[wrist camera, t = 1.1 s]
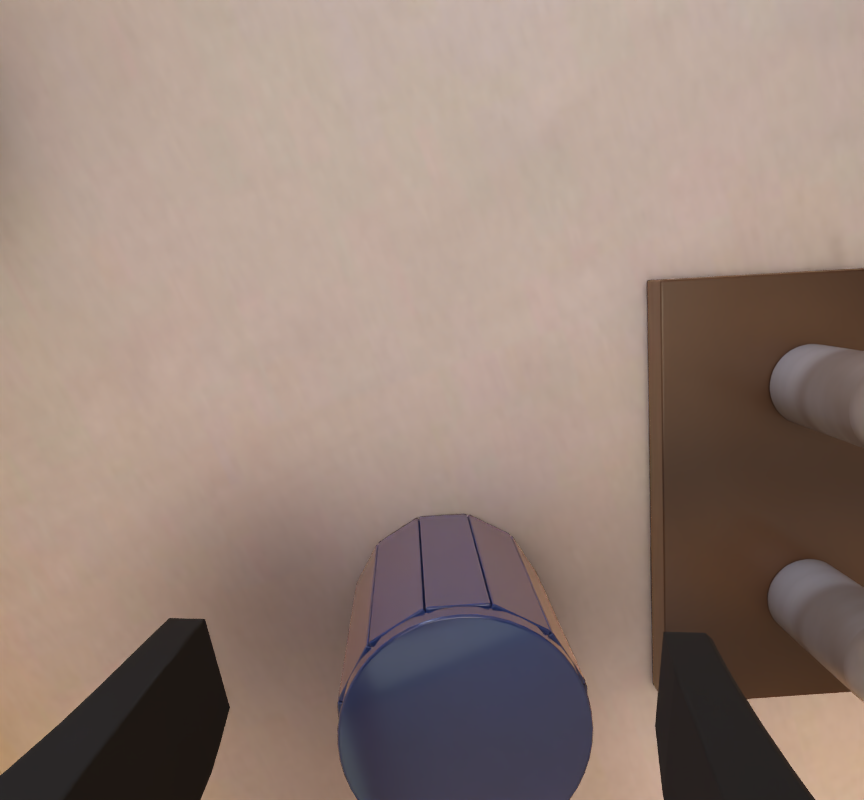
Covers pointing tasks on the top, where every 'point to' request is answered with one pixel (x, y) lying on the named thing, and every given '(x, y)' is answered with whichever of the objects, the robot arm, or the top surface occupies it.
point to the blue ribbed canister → (459, 673)
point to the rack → (760, 474)
